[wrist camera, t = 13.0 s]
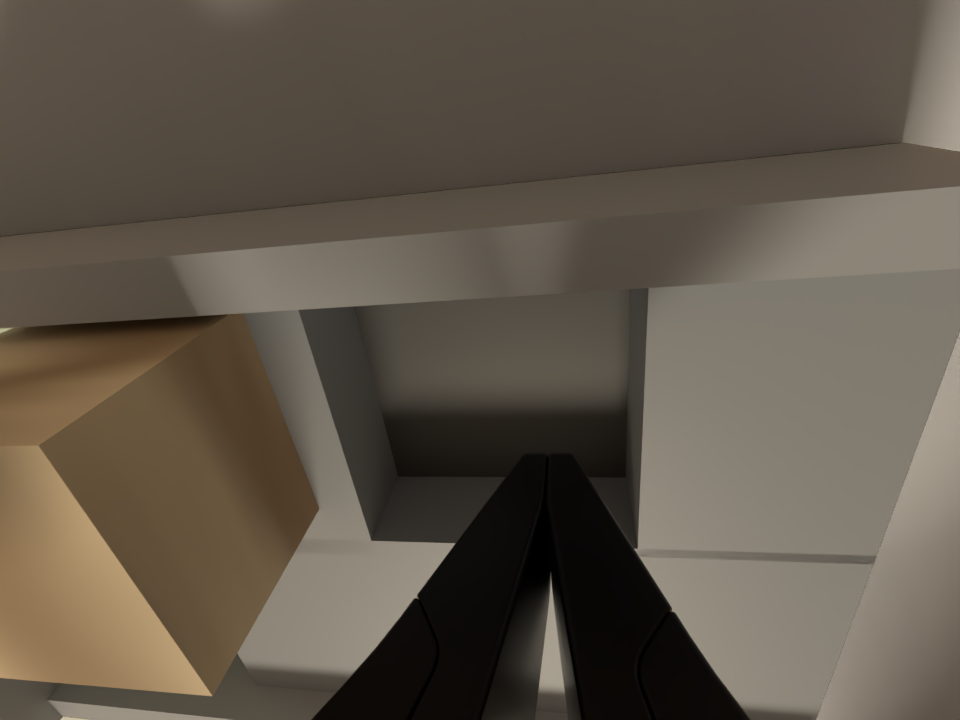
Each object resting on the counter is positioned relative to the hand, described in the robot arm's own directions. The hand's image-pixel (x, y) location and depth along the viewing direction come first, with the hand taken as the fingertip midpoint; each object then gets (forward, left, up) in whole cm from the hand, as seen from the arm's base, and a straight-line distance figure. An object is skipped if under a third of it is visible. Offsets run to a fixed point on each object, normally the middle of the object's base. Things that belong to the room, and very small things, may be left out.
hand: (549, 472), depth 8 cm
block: (+8, 0, -1) cm, 8 cm away
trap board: (+6, +3, -4) cm, 8 cm away
